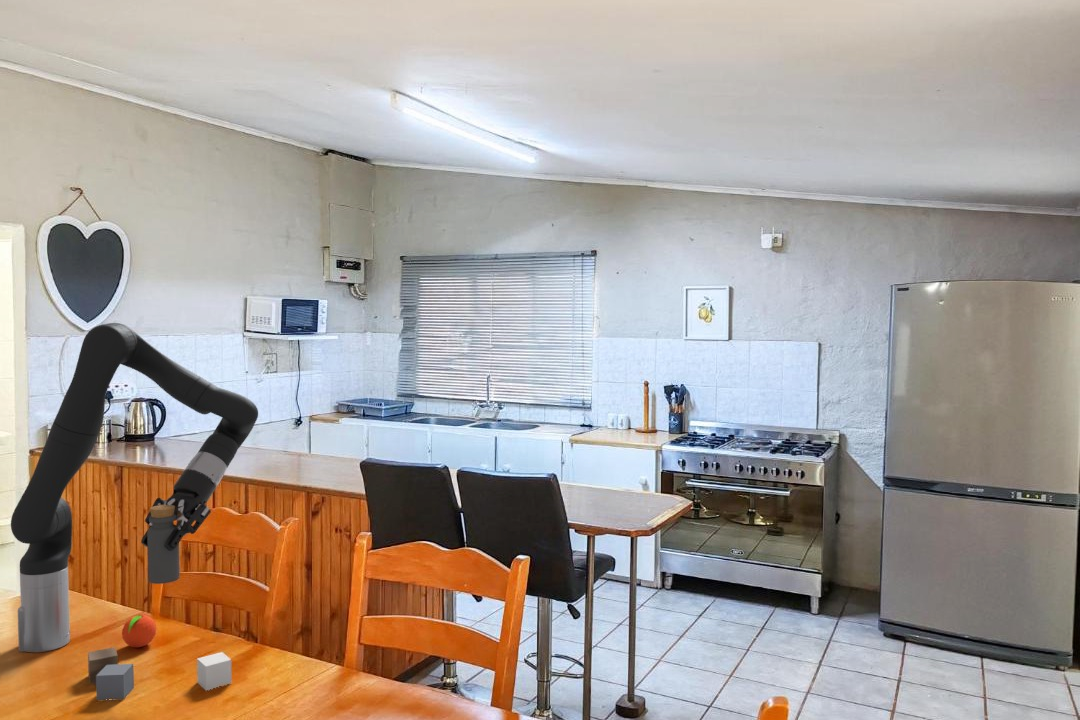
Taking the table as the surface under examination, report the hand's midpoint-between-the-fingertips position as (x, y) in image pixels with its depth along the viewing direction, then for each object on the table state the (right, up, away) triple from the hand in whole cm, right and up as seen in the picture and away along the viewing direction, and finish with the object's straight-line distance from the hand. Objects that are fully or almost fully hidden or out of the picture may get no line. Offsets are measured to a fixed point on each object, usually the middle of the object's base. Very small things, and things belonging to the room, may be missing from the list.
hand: (156, 546), depth 167 cm
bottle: (+1, -7, +2) cm, 8 cm away
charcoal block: (-5, -27, -6) cm, 29 cm away
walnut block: (-11, -27, +1) cm, 29 cm away
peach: (-12, -26, +17) cm, 34 cm away
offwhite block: (+12, -27, -1) cm, 30 cm away
